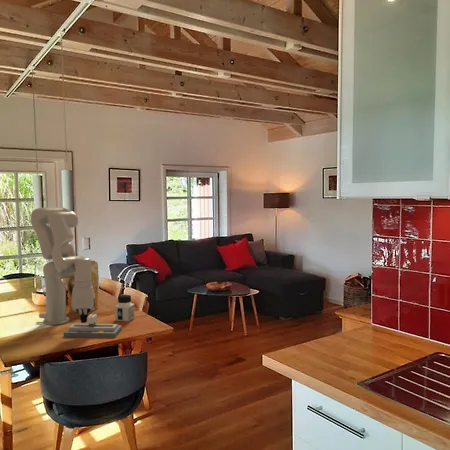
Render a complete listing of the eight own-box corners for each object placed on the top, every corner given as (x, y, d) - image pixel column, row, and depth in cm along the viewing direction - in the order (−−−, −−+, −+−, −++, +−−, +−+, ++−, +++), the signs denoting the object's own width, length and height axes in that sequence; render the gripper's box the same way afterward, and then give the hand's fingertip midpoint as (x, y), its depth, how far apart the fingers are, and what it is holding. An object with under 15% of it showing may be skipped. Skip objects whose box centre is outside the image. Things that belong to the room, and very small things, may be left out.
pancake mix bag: (64, 311, 237) (63, 262, 235) (98, 306, 247) (97, 259, 246) (67, 314, 231) (66, 263, 230) (101, 309, 242) (100, 261, 240)
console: (63, 336, 194) (63, 329, 194) (73, 328, 206) (73, 321, 206) (115, 337, 194) (115, 330, 194) (122, 329, 206) (121, 322, 206)
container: (128, 321, 218) (128, 297, 218) (114, 320, 220) (114, 296, 219) (134, 317, 226) (134, 293, 225) (121, 316, 228) (120, 292, 227)
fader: (87, 329, 198) (87, 316, 197) (90, 326, 203) (90, 313, 202) (93, 329, 198) (93, 317, 197) (97, 326, 203) (96, 314, 202)
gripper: (64, 285, 195) (65, 324, 196) (96, 285, 195) (97, 324, 196) (70, 282, 203) (71, 319, 204) (101, 282, 202) (102, 320, 203)
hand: (84, 322), depth 200 cm, fingers closed
